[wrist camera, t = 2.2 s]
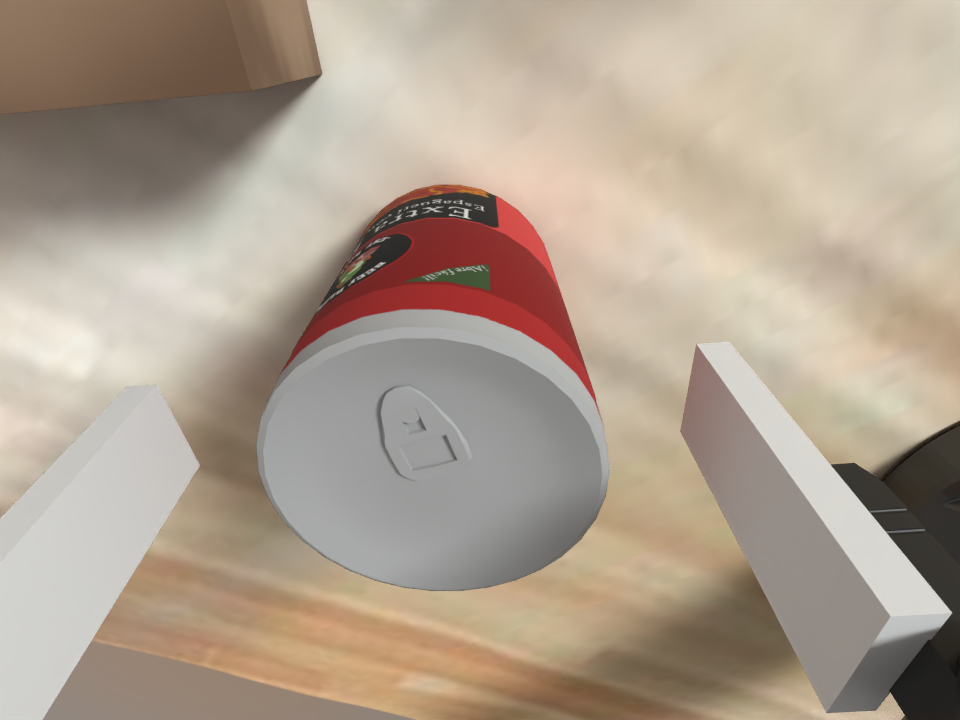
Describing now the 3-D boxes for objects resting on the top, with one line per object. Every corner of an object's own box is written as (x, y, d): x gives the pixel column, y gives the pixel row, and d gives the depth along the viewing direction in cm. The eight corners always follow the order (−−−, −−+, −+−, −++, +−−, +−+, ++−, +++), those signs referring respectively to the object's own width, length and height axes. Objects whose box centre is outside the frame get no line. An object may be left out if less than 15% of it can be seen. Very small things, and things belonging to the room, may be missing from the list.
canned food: (480, 133, 17) (483, 244, 8) (586, 308, 21) (672, 525, 12) (314, 250, 19) (166, 443, 10) (435, 390, 23) (407, 627, 14)
